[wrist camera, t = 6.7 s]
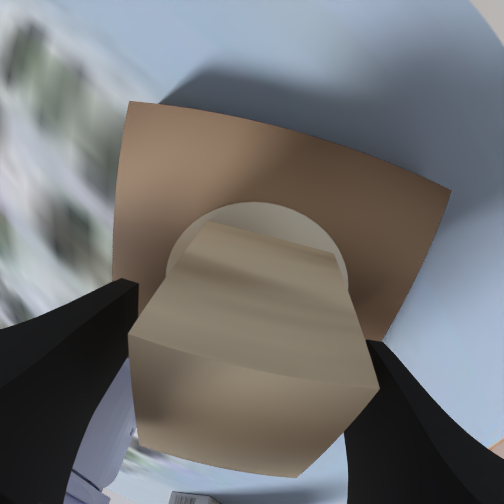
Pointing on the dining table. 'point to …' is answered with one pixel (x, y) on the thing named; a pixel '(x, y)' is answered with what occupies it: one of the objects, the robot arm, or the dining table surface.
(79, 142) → the dining table surface
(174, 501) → the coffee box
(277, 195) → the walnut base
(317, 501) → the dining table surface
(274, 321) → the maple block
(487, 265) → the dining table surface
